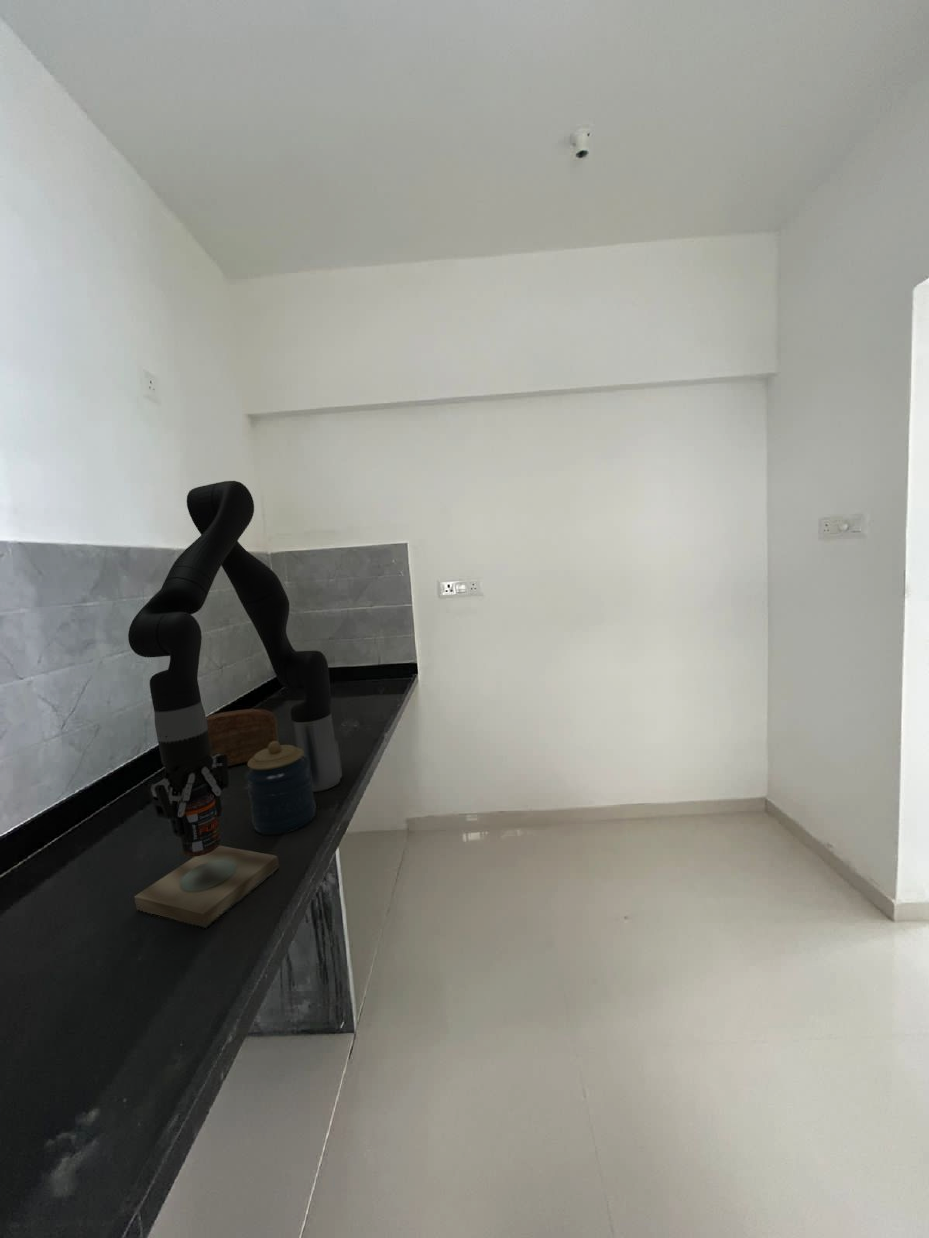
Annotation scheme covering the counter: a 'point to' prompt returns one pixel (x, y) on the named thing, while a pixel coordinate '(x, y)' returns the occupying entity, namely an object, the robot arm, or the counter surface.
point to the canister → (280, 789)
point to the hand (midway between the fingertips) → (199, 825)
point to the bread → (241, 733)
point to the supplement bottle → (201, 823)
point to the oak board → (206, 885)
